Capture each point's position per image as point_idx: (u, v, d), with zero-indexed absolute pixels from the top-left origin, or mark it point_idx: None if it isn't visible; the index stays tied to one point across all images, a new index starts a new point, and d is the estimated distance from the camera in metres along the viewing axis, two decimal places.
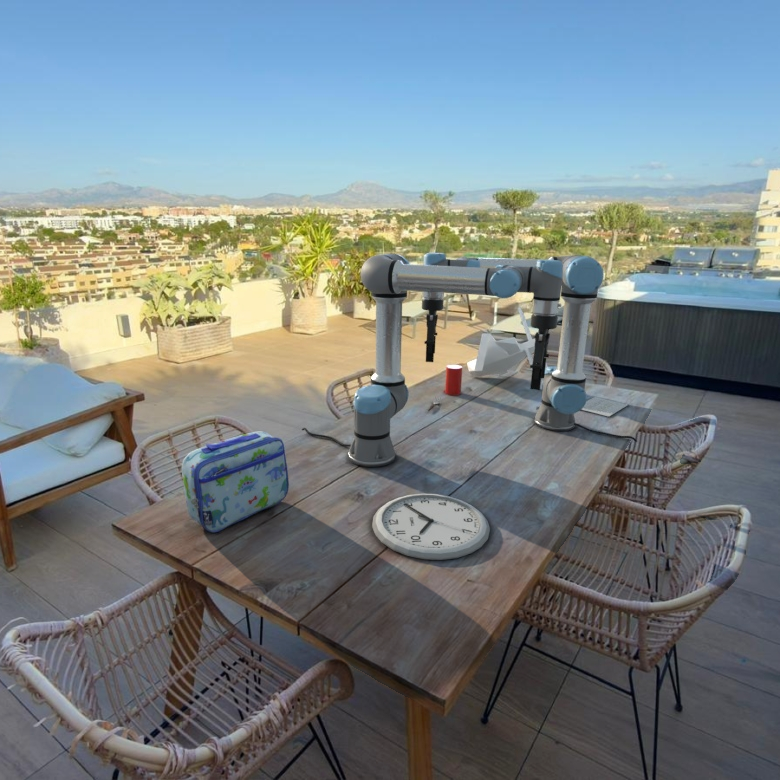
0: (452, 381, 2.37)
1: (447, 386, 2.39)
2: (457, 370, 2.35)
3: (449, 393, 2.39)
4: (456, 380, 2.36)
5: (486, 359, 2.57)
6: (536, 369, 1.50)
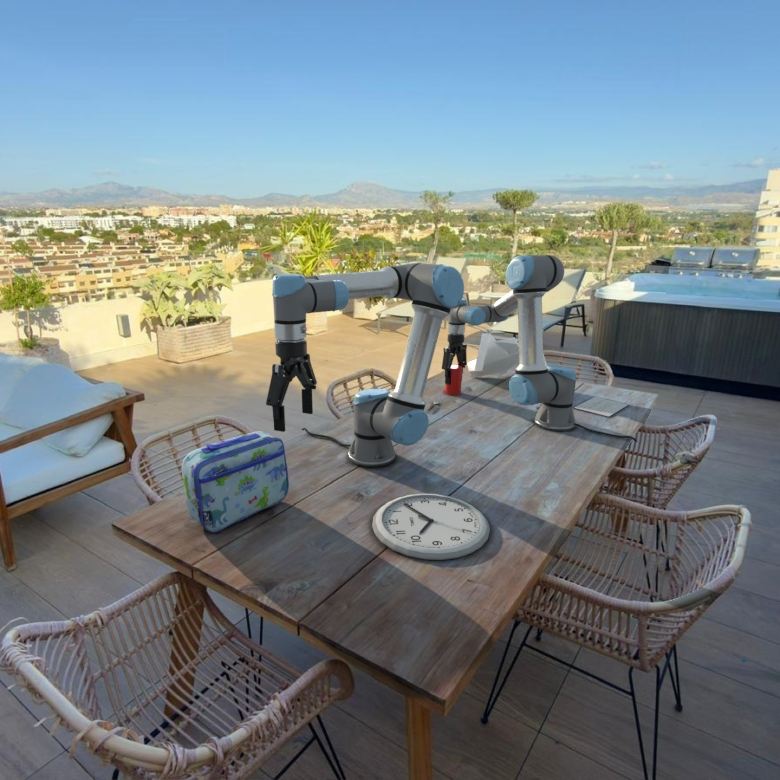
0: (452, 381, 2.37)
1: (447, 386, 2.39)
2: (457, 370, 2.35)
3: (449, 393, 2.39)
4: (456, 380, 2.36)
5: (486, 359, 2.57)
6: (274, 407, 1.24)
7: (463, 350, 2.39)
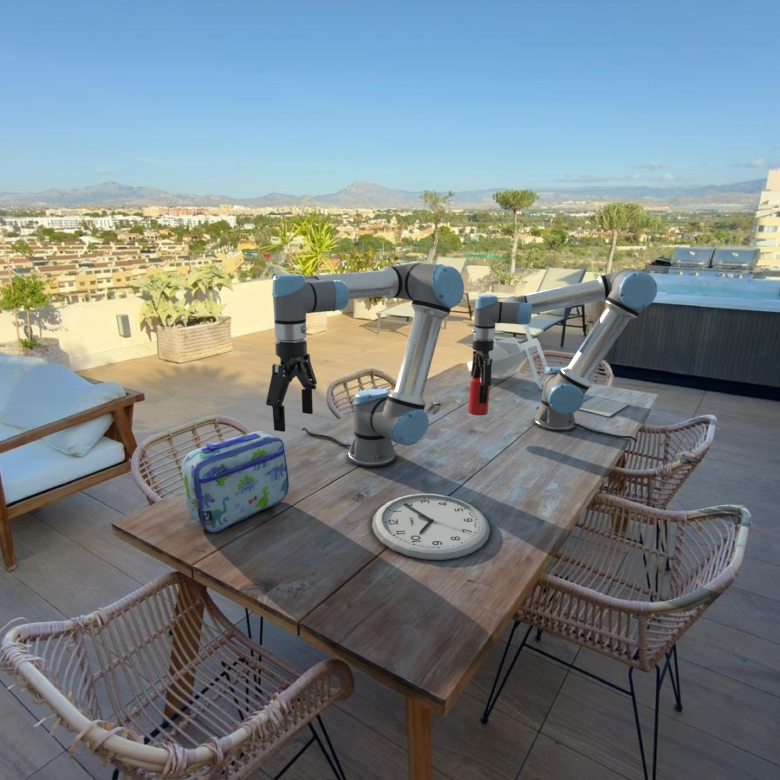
0: None
1: (480, 406, 1.91)
2: None
3: (483, 413, 1.92)
4: None
5: None
6: (274, 407, 1.24)
7: None
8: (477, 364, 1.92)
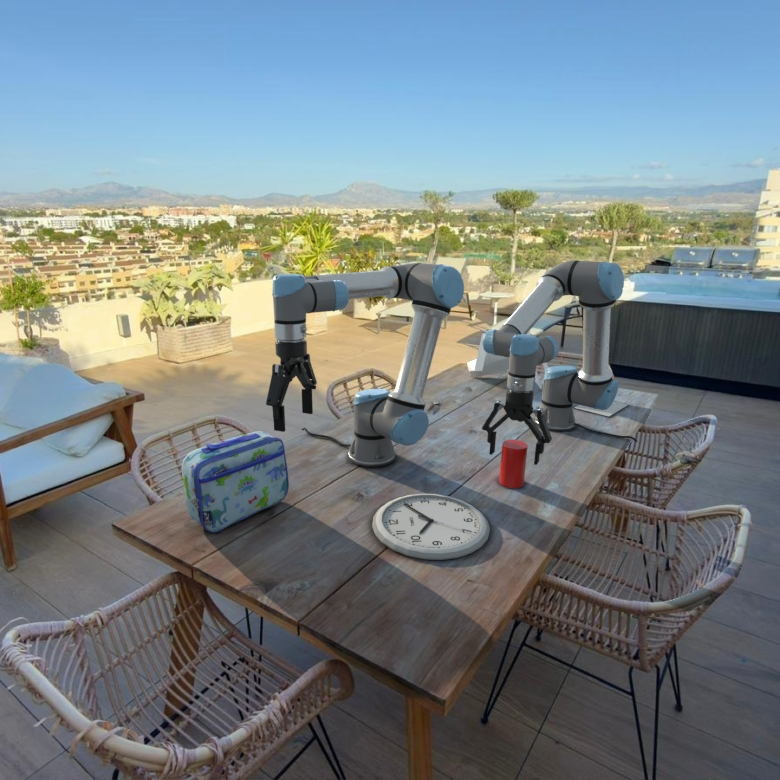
0: None
1: (523, 474, 1.54)
2: None
3: (523, 482, 1.56)
4: None
5: (486, 359, 2.57)
6: (274, 407, 1.24)
7: (498, 410, 1.54)
8: None
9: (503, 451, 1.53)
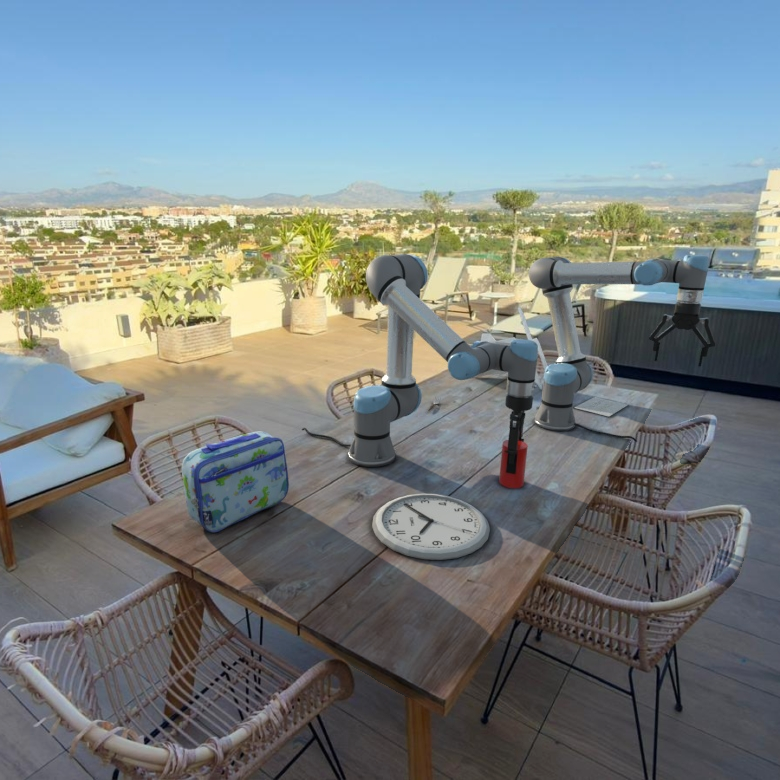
0: None
1: (523, 474, 1.54)
2: None
3: (523, 482, 1.56)
4: None
5: None
6: (511, 454, 1.49)
7: None
8: None
9: (503, 451, 1.53)
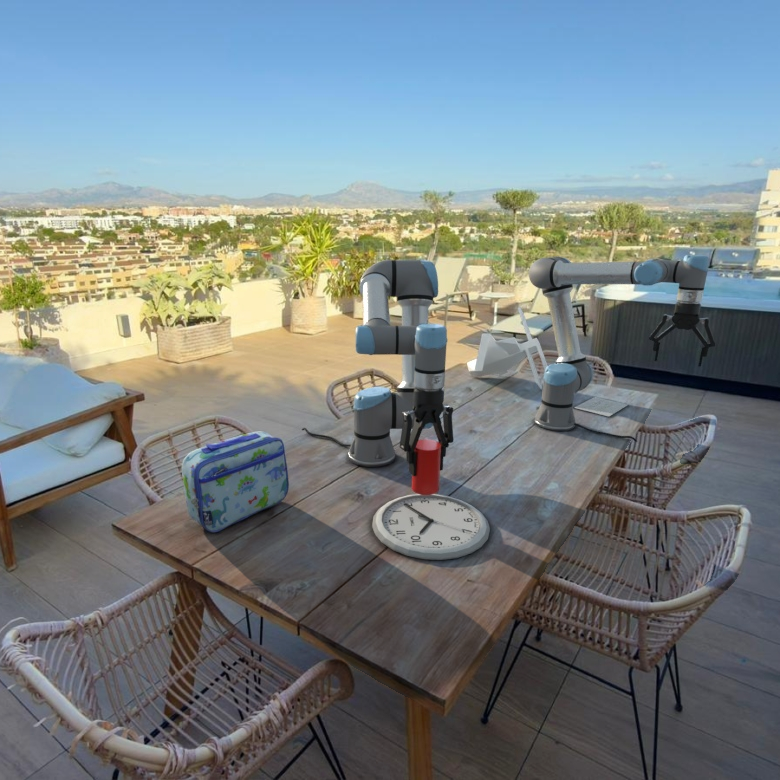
0: (437, 470, 1.34)
1: (429, 482, 1.33)
2: (440, 448, 1.34)
3: (433, 491, 1.35)
4: None
5: (486, 359, 2.57)
6: (407, 451, 1.32)
7: None
8: None
9: None
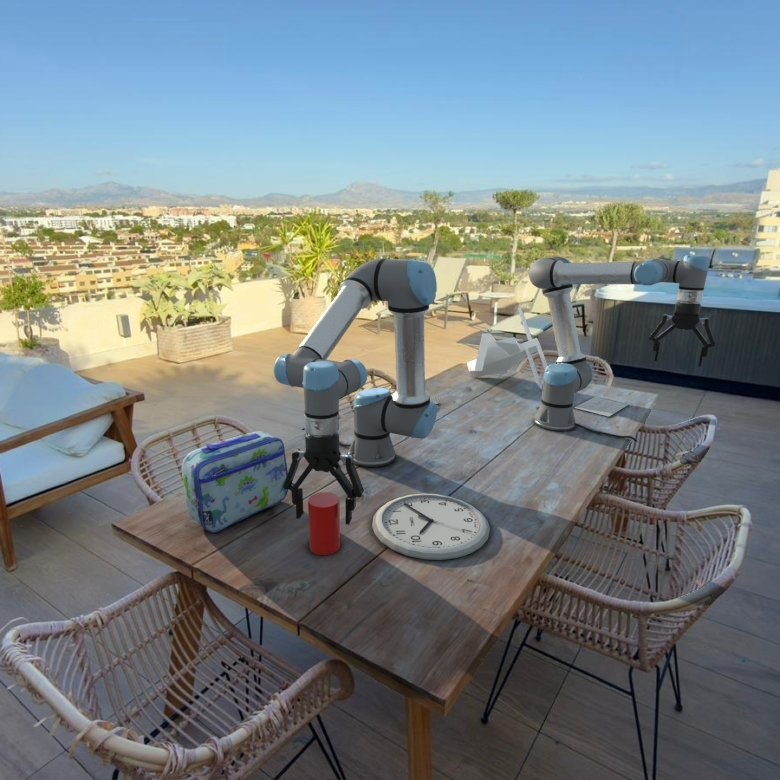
0: (325, 531, 1.19)
1: (315, 540, 1.20)
2: (333, 508, 1.19)
3: (321, 552, 1.21)
4: (334, 526, 1.20)
5: (486, 359, 2.57)
6: None
7: None
8: None
9: None
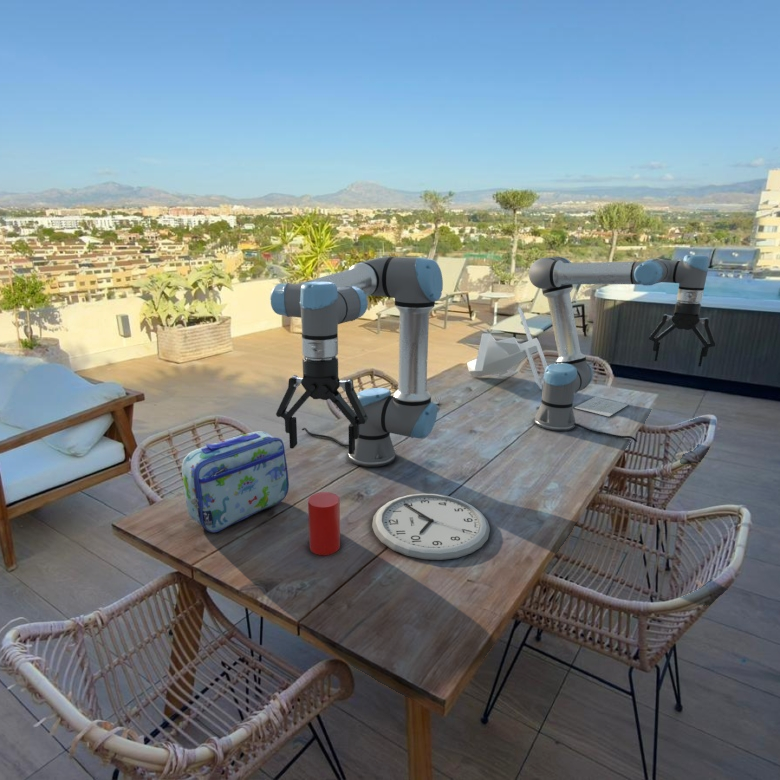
0: (325, 531, 1.19)
1: (315, 540, 1.20)
2: (333, 508, 1.19)
3: (321, 552, 1.21)
4: (334, 526, 1.20)
5: (486, 359, 2.57)
6: None
7: None
8: None
9: None
